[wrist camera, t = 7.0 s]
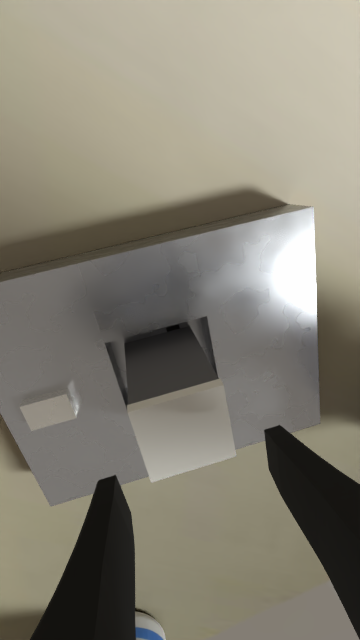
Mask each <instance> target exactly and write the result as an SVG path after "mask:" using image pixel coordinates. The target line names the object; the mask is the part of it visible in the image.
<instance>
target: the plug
mask: <svg viewBox="0 0 360 640" xmlns="http://www.w3.org/2000/svg"><path fill="white" fill-rule="evenodd" d="M124 348H125V362H126V377H127V391H128V405H127V412H128V415H129V418H130V421H131V424H132V427H133V430H134V433H135V436H136V439H137V442H138V445H139V448H140V451H141V454H142V457H143V460H144V463H145V466H146V469H147V472H148V475H149V478H150V481H151V483H152V482H155V481H158V480H162V479H165V478H168V477H171V476H174V475H178V474H181V473H184V472H187V471H191V470H194V469H197V468H200V467H203V466H207V465H210V464H213V463H216V462H220V461H223V460H226V459H229V458H232V457H236V451H235V445H234V440H233V434H232V428H231V423H230V417H229V411H228V406H227V400H226V395H225V389H224V384H223V383H222V381H221V379H219V378H218V377H217V375H216V373H215V371H214V369H213V367H212V366H211V364H210V362H209V360H208V358H207V356H206V355H205V353H204V351H203V349H202V347H201V346H200V344H199V342H198V340H197V338H196V336H195V335H194V333H193V331H192V329H191V327H190V326H187V327H183V328H180V329H176V330H172V331H168V332H165V333H161V334H157V335H154V336H150V337H146V338H142V339H139V340H135V341H131V342H127V343H124Z"/></svg>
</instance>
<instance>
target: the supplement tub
mask: <svg viewBox="0 0 360 640" xmlns="http://www.w3.org/2000/svg"><path fill="white" fill-rule="evenodd" d="M135 628H136V640H166V638H165V634H164V631H163V629H162V627H161V625H160V624H159V623H158V622H157V621H156V620H155V619H154V618H152V617H151V616H149V615H147V614H144V613H141V612H136V611H135Z"/></svg>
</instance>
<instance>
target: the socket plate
mask: <svg viewBox="0 0 360 640" xmlns="http://www.w3.org/2000/svg"><path fill="white" fill-rule="evenodd" d="M187 326H190V327H191V329H192V331H193V333H194V335H195V336H196V338H197V340H198V342H199V344H200V346H201V347H202V349H203V351H204V353H205V355H206V356H207V358H208V360H209V362H210V364H211V366H212V367H213V369H214V371H215V373H216V375H217V377H218V378H219V379H221V381H222V383H223V384H224V389H225V395H226V400H227V406H228V411H229V417H230V423H231V428H232V434H233V440H234V445H235V450H236V449H239V448H242V447H246V446H249V445H252V444H255V443H259V442H262V441H265V434H264V430H265V429H268V428H271V427H275V426H278V425H280V426H282V427H283V428H285V429H286V430H287V431H288V432H289V433H291V432H294V431H298V430H301V429H304V428H307V427H311V426H314V425H317V424H320V396H319V364H318V333H317V301H316V269H315V237H314V207H311V206H301V205H291V204H288V205H284V206H279V207H275V208H271V209H267V210H263V211H258V212H254V213H250V214H246V215H242V216H237V217H233V218H229V219H225V220H221V221H216V222H212V223H208V224H204V225H200V226H195V227H191V228H187V229H183V230H179V231H174V232H170V233H166V234H162V235H158V236H153V237H149V238H145V239H141V240H137V241H132V242H128V243H124V244H120V245H116V246H111V247H107V248H103V249H99V250H95V251H90V252H86V253H82V254H78V255H74V256H69V257H65V258H61V259H57V260H53V261H48V262H44V263H40V264H36V265H32V266H27V267H23V268H19V269H15V270H11V271H6V272H2V273H0V413H1V415H2V417H3V419H4V421H5V423H6V424H7V426H8V428H9V430H10V432H11V434H12V436H13V437H14V439H15V441H16V443H17V445H18V447H19V449H20V450H21V452H22V454H23V456H24V458H25V460H26V462H27V463H28V465H29V467H30V469H31V471H32V473H33V475H34V476H35V478H36V480H37V482H38V484H39V486H40V488H41V489H42V491H43V493H44V495H45V497H46V499H47V501H48V502H49V504H50V506H54V505H57V504H61V503H64V502H67V501H70V500H74V499H77V498H80V497H83V496H87V495H90V494H93V493H94V491H95V488H96V484H97V482H98V481H99V480H100V479H104V478H107V477H110V476H114V475H116V476H117V479H118V481H119V484H120V485H122V484H126V483H129V482H132V481H135V480H139V479H142V478H145V477H148V476H149V475H148V472H147V469H146V466H145V463H144V460H143V457H142V454H141V451H140V448H139V445H138V442H137V439H136V436H135V433H134V430H133V427H132V424H131V421H130V418H129V415H128V412H127V405H128V391H127V377H126V362H125V348H124V343H127V342H131V341H135V340H139V339H142V338H146V337H150V336H154V335H157V334H161V333H165V332H168V331H172V330H176V329H180V328H183V327H187Z"/></svg>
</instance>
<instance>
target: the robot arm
mask: <svg viewBox="0 0 360 640" xmlns="http://www.w3.org/2000/svg"><path fill="white" fill-rule="evenodd" d="M264 434H265V442H266V450H267V458H268V466H269V471H270V473H271V475H272V477H273V479H274V481H275V484H276V486H277V488H278V490H279V492H280V494H281V496H282V498H283V500H284V501H285V503H286V505H287V506H288V508H289V510H290V512H291V513H292V515H293V517H294V518H295V520H296V522H297V523H298V525H299V527H300V528H301V530H302V531H303V533H304V535H305V536H306V538H307V540H308V541H309V543H310V545H311V546H312V548H313V550H314V551H315V553H316V555H317V556H318V558H319V560H320V562H321V563H322V565H323V567H324V569H325V571H326V572H327V574H328V576H329V578H330V580H331V582H332V584H333V586H334V588H335V590H336V592H337V594H338V596H339V598H340V600H341V602H342V604H343V606H344V608H345V610H346V612H347V614H348V617H349V619H350V621H351V623H352V625H353V627H354V629H355V631H356V633H357V635H358V637H359V639H360V484H358V483H357V482H355V481H354V480H352V479H351V478H349V477H348V476H346V475H345V474H343V473H342V472H340V471H339V470H338V469H336V468H335V467H333V466H332V465H331V464H329V463H328V462H326V461H325V460H324V459H322V458H321V457H320V456H318V455H317V454H316V453H314V452H313V451H312V450H310V449H309V448H308V447H307V446H305V445H304V444H303V443H302V442H300V441H299V440H298V439H297V438H295V437H294V436H293V435H292V434H291V433H289V432H288V431H287V430H286V429H285V428H283V427H282V426H280V425H278V426H275V427H271V428H268V429H265V430H264ZM30 640H136V628H135V546H134V535H133V526H132V517H131V512H130V509H129V507H128V504H127V502H126V499H125V496H124V494H123V491H122V489H121V486H120V484H119V481H118V479H117V476H116V475H114V476H110V477H107V478H104V479H100V480H99V481H98V482H97V484H96V488H95V491H94V494H93V497H92V501H91V504H90V507H89V510H88V513H87V515H86V518H85V521H84V524H83V526H82V529H81V532H80V534H79V537H78V540H77V542H76V545H75V547H74V550H73V552H72V554H71V557H70V559H69V561H68V564H67V566H66V568H65V571H64V573H63V575H62V578H61V580H60V582H59V584H58V586H57V588H56V590H55V593H54V595H53V597H52V599H51V601H50V603H49V605H48V607H47V609H46V611H45V613H44V615H43V617H42V618H41V620H40V622H39V624H38V626H37V628H36V630H35V631H34V633H33V635H32V637H31V639H30Z"/></svg>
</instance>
